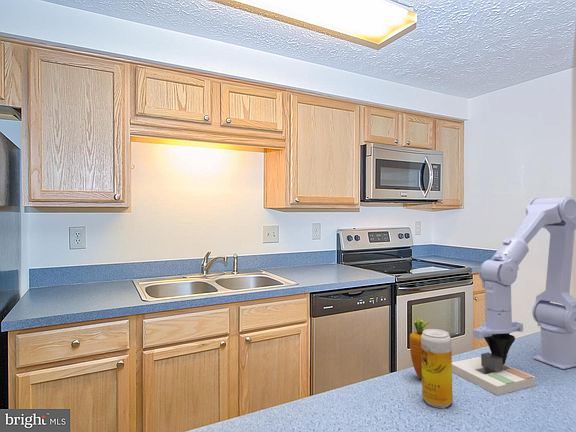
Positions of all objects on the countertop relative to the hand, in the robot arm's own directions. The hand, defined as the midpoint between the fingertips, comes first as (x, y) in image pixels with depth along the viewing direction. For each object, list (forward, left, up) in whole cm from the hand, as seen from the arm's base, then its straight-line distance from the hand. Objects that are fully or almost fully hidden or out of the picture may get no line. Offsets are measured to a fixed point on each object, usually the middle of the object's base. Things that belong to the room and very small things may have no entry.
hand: (499, 363), depth 91 cm
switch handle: (+2, 0, -3) cm, 4 cm away
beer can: (+23, +4, -3) cm, 24 cm away
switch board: (+3, 0, -3) cm, 4 cm away
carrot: (+19, -6, -3) cm, 20 cm away
